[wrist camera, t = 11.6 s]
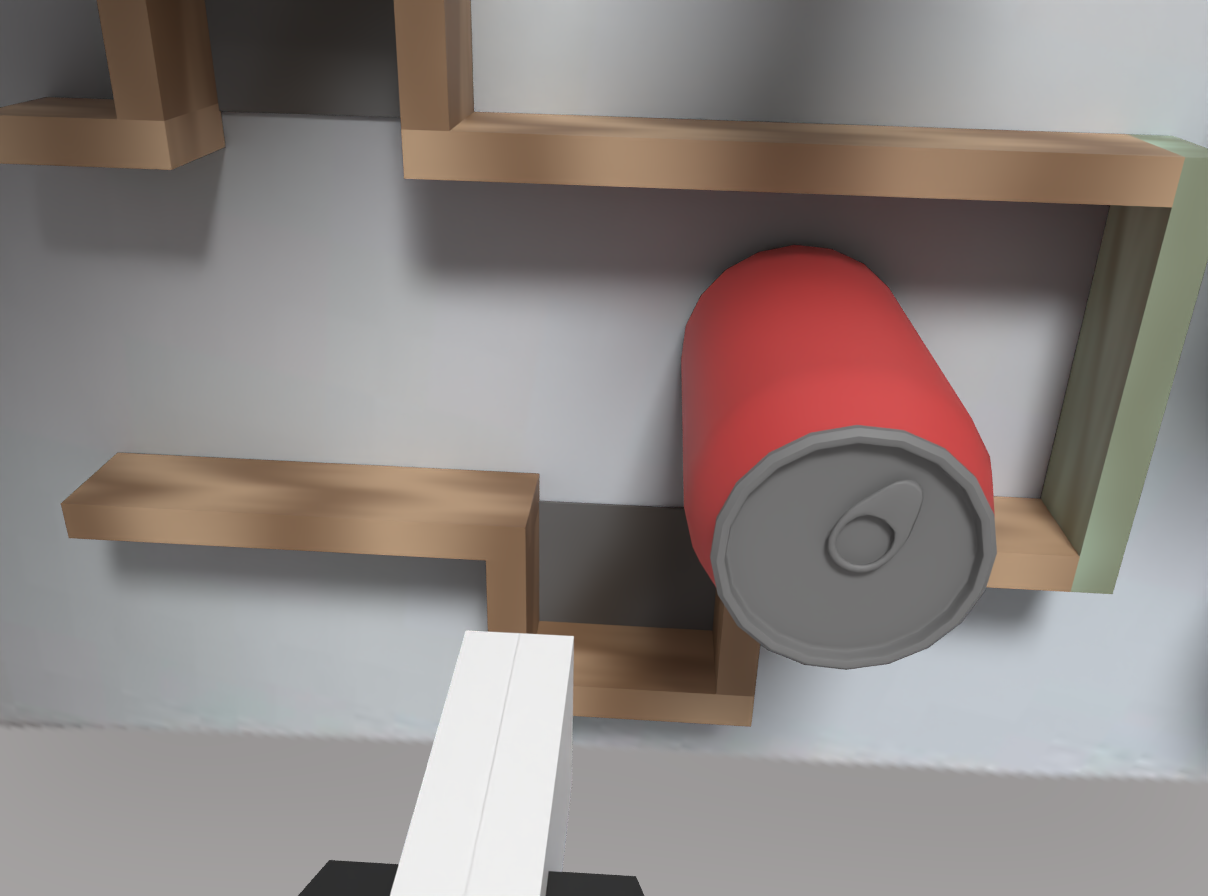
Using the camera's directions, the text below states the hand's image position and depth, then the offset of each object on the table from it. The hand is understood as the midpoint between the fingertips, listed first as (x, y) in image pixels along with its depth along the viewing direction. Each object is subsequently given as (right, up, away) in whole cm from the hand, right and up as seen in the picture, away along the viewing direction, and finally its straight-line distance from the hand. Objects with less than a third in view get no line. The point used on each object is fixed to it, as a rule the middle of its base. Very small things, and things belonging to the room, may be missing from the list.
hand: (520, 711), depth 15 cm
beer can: (+7, +7, +17) cm, 19 cm away
